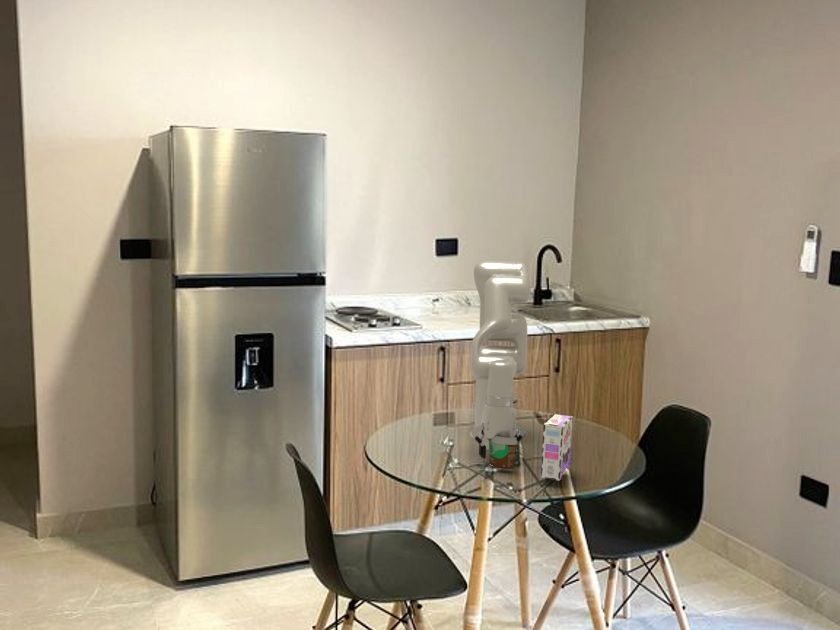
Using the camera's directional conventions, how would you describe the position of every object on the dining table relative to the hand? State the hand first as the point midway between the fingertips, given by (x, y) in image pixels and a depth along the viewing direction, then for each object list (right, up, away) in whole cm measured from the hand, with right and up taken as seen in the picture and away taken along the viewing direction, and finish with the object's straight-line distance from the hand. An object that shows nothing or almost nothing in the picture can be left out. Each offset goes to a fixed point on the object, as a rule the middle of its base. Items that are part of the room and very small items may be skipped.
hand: (497, 456), depth 260 cm
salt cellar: (-1, 0, +18) cm, 18 cm away
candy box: (+17, -4, -6) cm, 18 cm away
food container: (0, -3, 0) cm, 3 cm away
